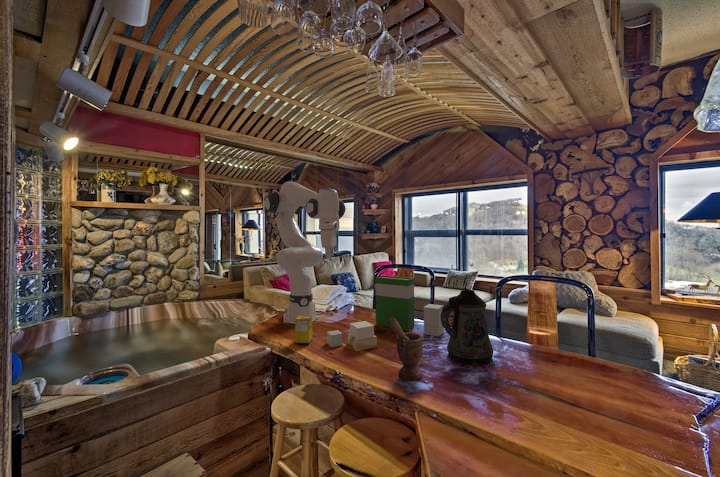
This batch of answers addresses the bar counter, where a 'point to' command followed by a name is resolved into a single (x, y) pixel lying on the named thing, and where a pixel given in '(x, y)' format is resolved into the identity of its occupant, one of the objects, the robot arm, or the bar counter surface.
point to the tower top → (361, 330)
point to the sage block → (334, 338)
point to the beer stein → (467, 329)
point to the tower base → (362, 342)
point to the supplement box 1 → (303, 329)
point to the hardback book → (395, 301)
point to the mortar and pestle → (408, 351)
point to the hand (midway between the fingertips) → (329, 257)
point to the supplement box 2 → (433, 320)
